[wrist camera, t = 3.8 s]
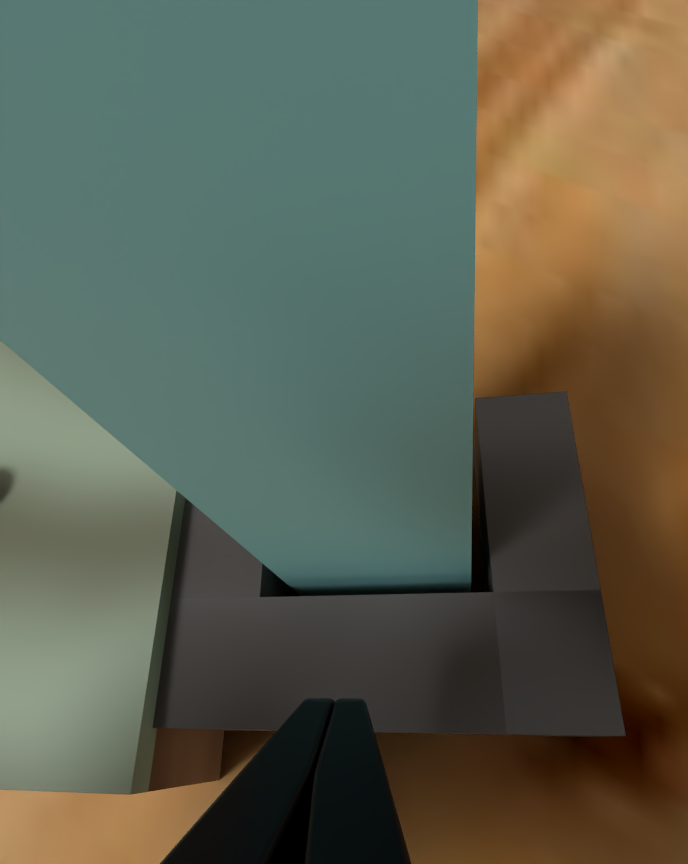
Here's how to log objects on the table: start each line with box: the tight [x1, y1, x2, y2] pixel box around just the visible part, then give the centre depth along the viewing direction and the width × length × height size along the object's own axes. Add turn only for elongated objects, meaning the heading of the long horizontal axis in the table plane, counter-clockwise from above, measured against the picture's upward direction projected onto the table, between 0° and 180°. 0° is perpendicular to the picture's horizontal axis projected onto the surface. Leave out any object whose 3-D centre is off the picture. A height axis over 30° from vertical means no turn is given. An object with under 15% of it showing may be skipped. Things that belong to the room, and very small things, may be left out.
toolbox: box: [0, 341, 626, 794], centre depth 16 cm, size 12×27×6 cm, turn 89°
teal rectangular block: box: [0, 0, 478, 596], centre depth 10 cm, size 3×4×16 cm
